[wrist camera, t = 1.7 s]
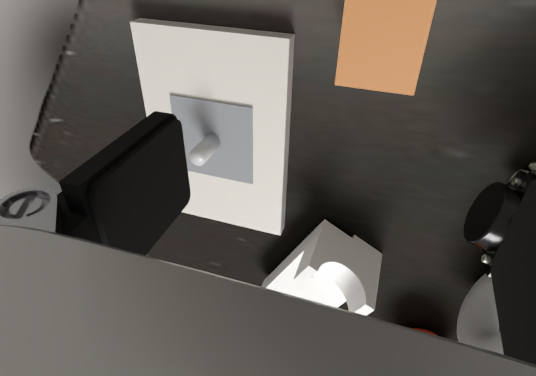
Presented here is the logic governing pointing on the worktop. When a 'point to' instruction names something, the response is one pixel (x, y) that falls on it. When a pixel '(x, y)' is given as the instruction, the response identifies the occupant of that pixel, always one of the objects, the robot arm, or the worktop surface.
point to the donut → (480, 318)
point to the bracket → (330, 270)
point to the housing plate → (224, 113)
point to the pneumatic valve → (496, 213)
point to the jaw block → (383, 44)
